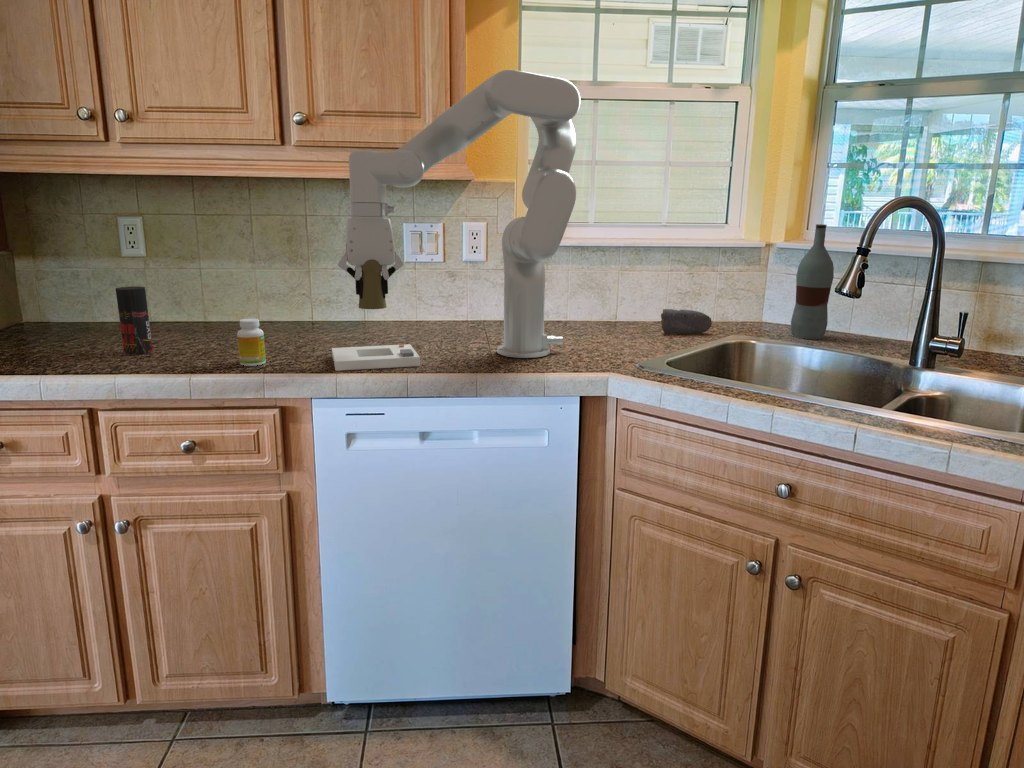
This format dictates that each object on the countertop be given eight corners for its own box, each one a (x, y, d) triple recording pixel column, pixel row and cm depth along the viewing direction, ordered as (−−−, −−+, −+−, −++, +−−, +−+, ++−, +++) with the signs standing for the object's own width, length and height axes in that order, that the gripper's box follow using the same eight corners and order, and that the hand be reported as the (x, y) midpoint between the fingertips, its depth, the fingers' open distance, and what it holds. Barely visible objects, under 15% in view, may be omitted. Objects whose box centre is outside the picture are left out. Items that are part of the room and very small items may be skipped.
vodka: (833, 339, 186) (848, 225, 179) (806, 341, 183) (820, 225, 176) (808, 332, 195) (822, 223, 187) (781, 334, 192) (794, 223, 184)
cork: (374, 304, 156) (372, 254, 153) (392, 307, 152) (390, 256, 149) (352, 307, 151) (350, 256, 149) (370, 310, 148) (368, 258, 145)
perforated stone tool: (707, 332, 195) (709, 307, 193) (714, 335, 189) (716, 310, 188) (655, 332, 193) (657, 307, 192) (660, 336, 188) (662, 310, 187)
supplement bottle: (266, 365, 150) (262, 321, 147) (239, 367, 148) (235, 322, 146) (265, 360, 155) (262, 317, 152) (240, 361, 153) (236, 318, 150)
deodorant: (125, 350, 162) (116, 287, 158) (153, 349, 165) (145, 286, 161) (123, 356, 157) (113, 290, 153) (152, 354, 159) (144, 289, 155)
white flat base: (410, 352, 164) (409, 340, 163) (420, 365, 151) (419, 353, 150) (332, 356, 159) (331, 344, 158) (335, 370, 146) (334, 357, 145)
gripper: (405, 211, 153) (407, 294, 157) (327, 210, 148) (331, 296, 152) (411, 212, 146) (413, 299, 150) (329, 211, 141) (333, 301, 146)
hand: (372, 296), depth 151 cm, fingers closed on cork, 4 cm apart
